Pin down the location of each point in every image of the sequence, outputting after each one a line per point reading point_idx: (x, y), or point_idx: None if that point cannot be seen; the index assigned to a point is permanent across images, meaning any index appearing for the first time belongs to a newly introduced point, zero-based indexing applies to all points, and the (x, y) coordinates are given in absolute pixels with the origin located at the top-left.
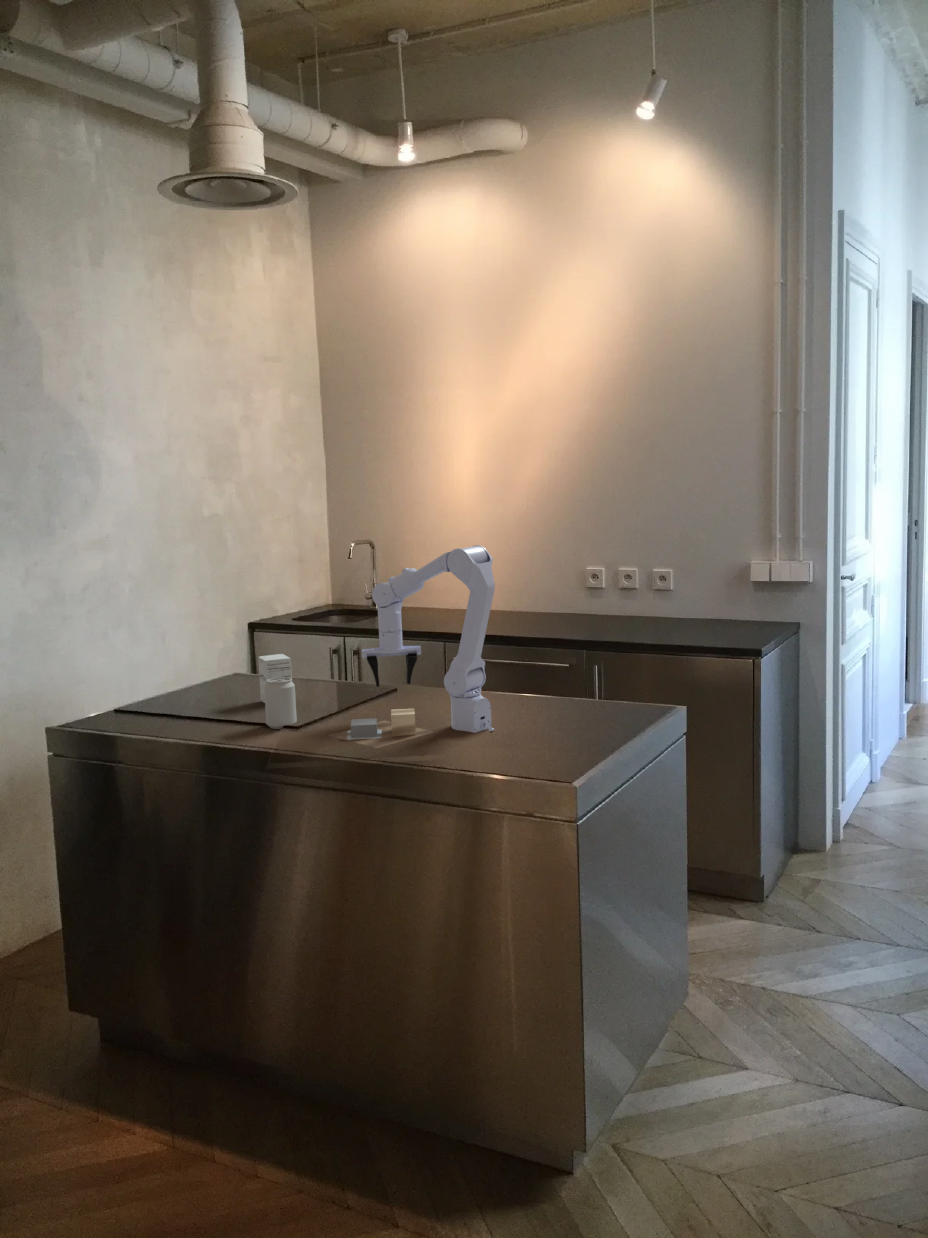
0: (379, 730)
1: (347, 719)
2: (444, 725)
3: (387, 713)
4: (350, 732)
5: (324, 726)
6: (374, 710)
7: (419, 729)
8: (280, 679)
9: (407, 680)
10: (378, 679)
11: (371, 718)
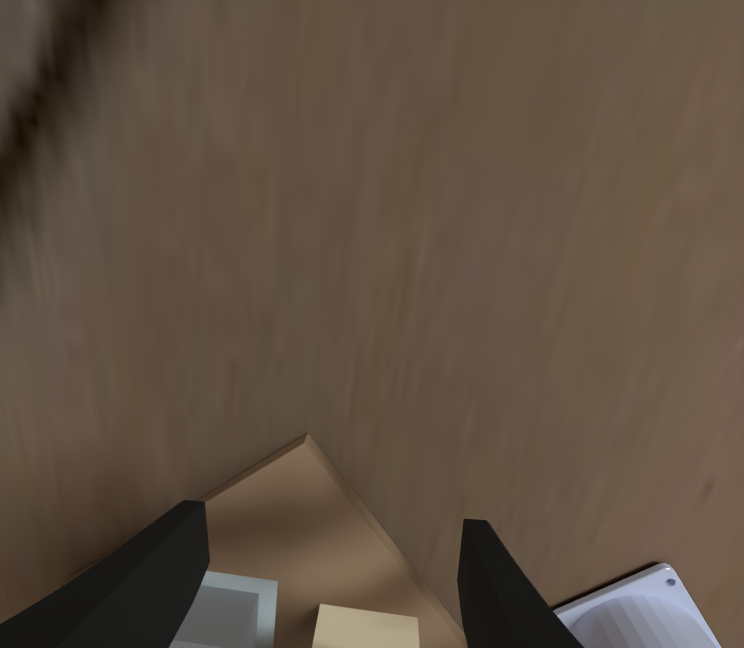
0: (267, 597)
1: (124, 273)
2: (567, 532)
3: (342, 206)
4: None
5: (26, 374)
6: (272, 98)
7: (433, 630)
8: None
9: (463, 619)
10: (169, 638)
11: (213, 645)
